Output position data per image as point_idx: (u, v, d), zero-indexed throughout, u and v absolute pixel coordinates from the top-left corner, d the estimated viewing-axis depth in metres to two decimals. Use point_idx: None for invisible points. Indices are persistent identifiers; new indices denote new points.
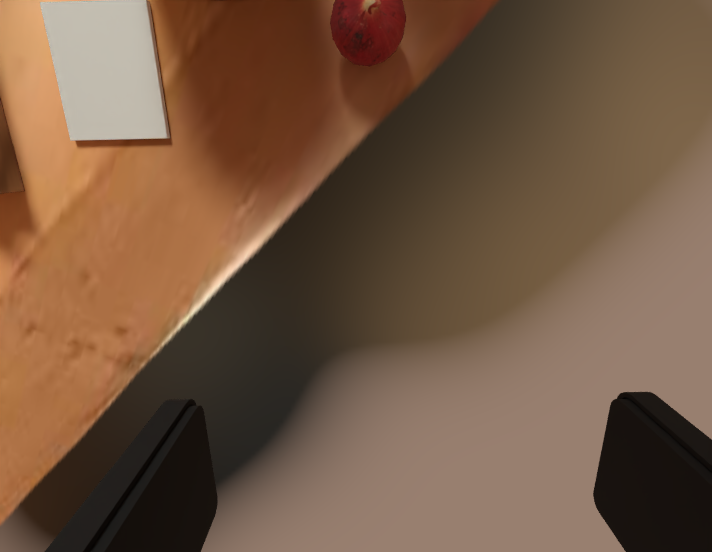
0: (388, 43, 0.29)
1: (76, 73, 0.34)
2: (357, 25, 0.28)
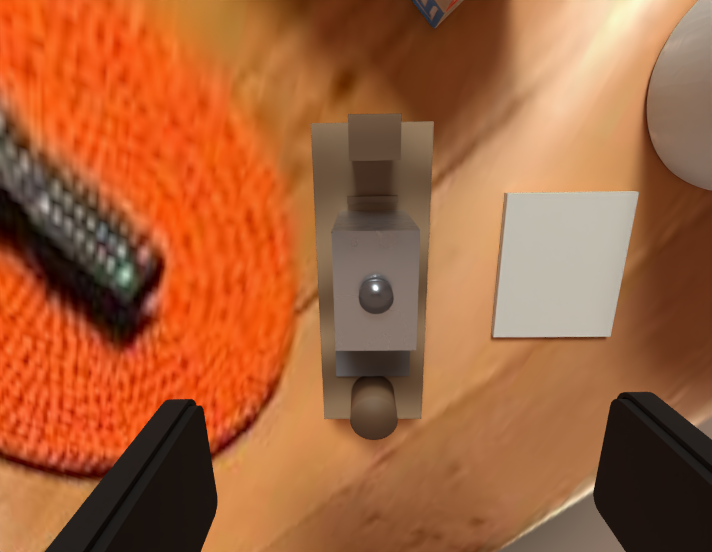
0: None
1: (525, 268, 0.29)
2: None
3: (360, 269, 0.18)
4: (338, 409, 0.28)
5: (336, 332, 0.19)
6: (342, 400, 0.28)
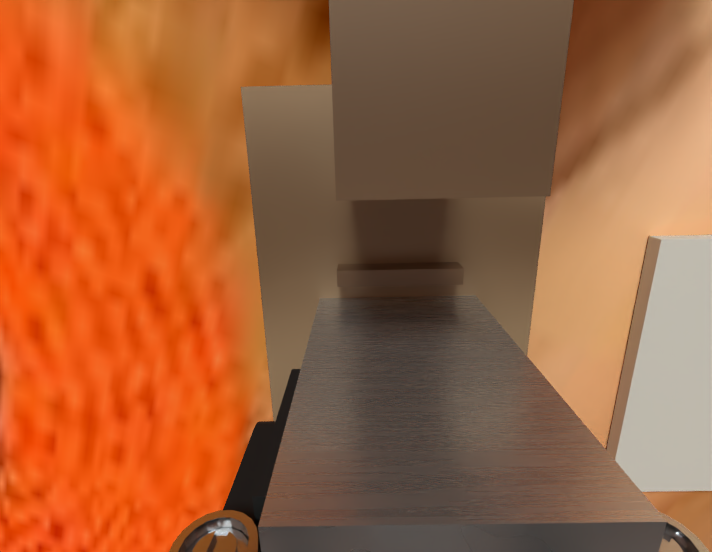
0: None
1: (680, 377, 0.15)
2: None
3: None
4: None
5: None
6: None
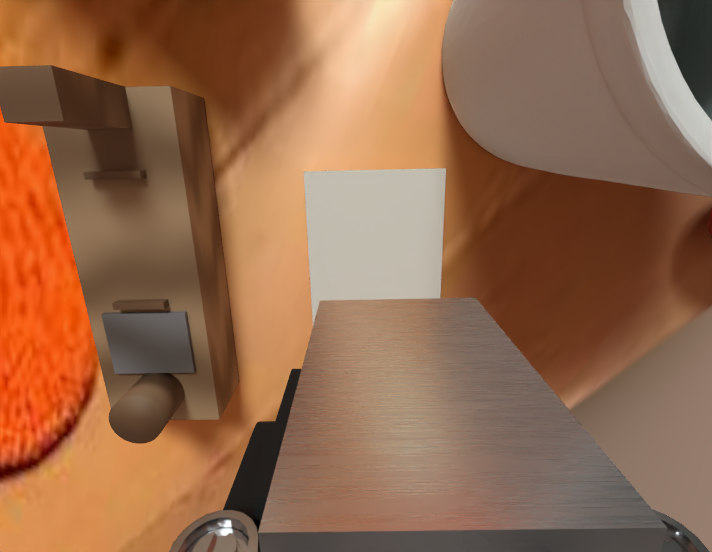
0: None
1: (336, 254, 0.26)
2: None
3: None
4: None
5: None
6: None
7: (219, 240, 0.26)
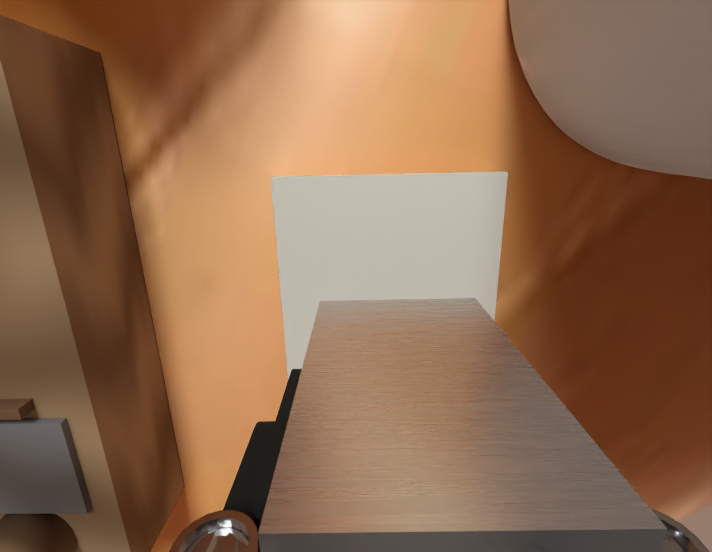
0: None
1: None
2: None
3: None
4: None
5: None
6: None
7: (139, 286, 0.17)
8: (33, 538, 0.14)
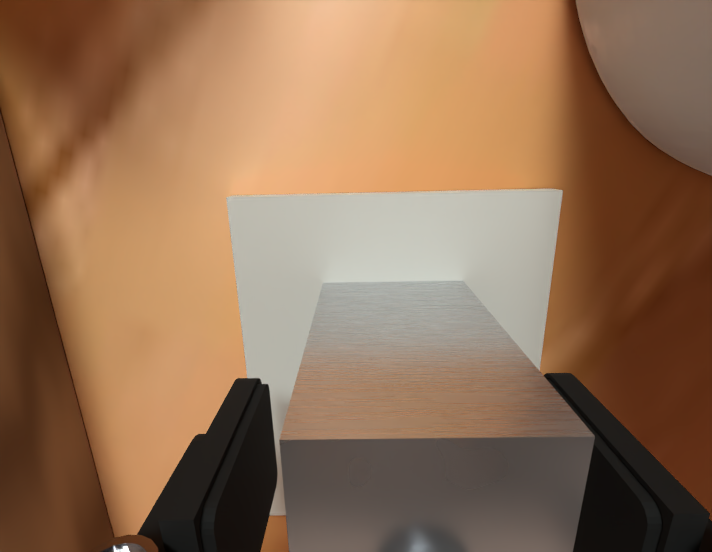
0: None
1: None
2: None
3: (378, 547, 0.05)
4: None
5: None
6: None
7: (51, 344, 0.12)
8: None
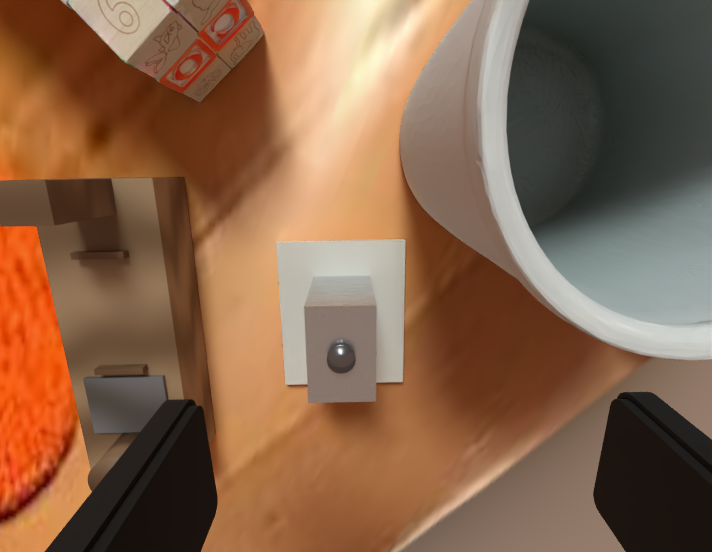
0: None
1: None
2: None
3: (327, 336, 0.22)
4: None
5: (309, 387, 0.23)
6: None
7: (197, 303, 0.28)
8: None
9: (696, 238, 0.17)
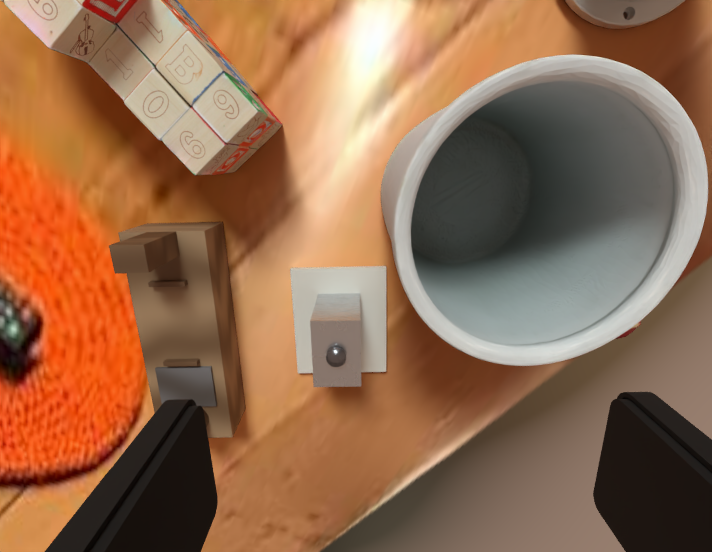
0: None
1: None
2: None
3: (326, 341, 0.32)
4: None
5: (314, 376, 0.33)
6: None
7: (232, 313, 0.38)
8: None
9: (563, 283, 0.26)
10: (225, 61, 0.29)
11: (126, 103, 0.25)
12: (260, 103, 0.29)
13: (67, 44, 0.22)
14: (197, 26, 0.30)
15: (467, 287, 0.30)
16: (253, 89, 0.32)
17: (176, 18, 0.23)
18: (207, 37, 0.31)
